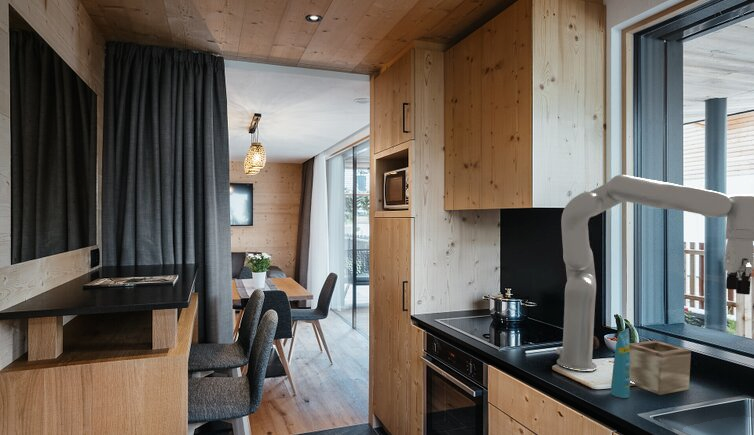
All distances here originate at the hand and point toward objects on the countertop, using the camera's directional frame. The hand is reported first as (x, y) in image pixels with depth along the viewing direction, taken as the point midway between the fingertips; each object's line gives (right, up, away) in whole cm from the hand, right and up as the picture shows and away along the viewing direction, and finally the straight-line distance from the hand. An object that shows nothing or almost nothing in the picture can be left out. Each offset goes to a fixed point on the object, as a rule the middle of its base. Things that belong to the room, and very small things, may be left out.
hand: (737, 291), depth 146 cm
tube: (-39, -30, -6) cm, 49 cm away
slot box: (-22, -30, +4) cm, 38 cm away
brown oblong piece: (-31, -29, +41) cm, 59 cm away
